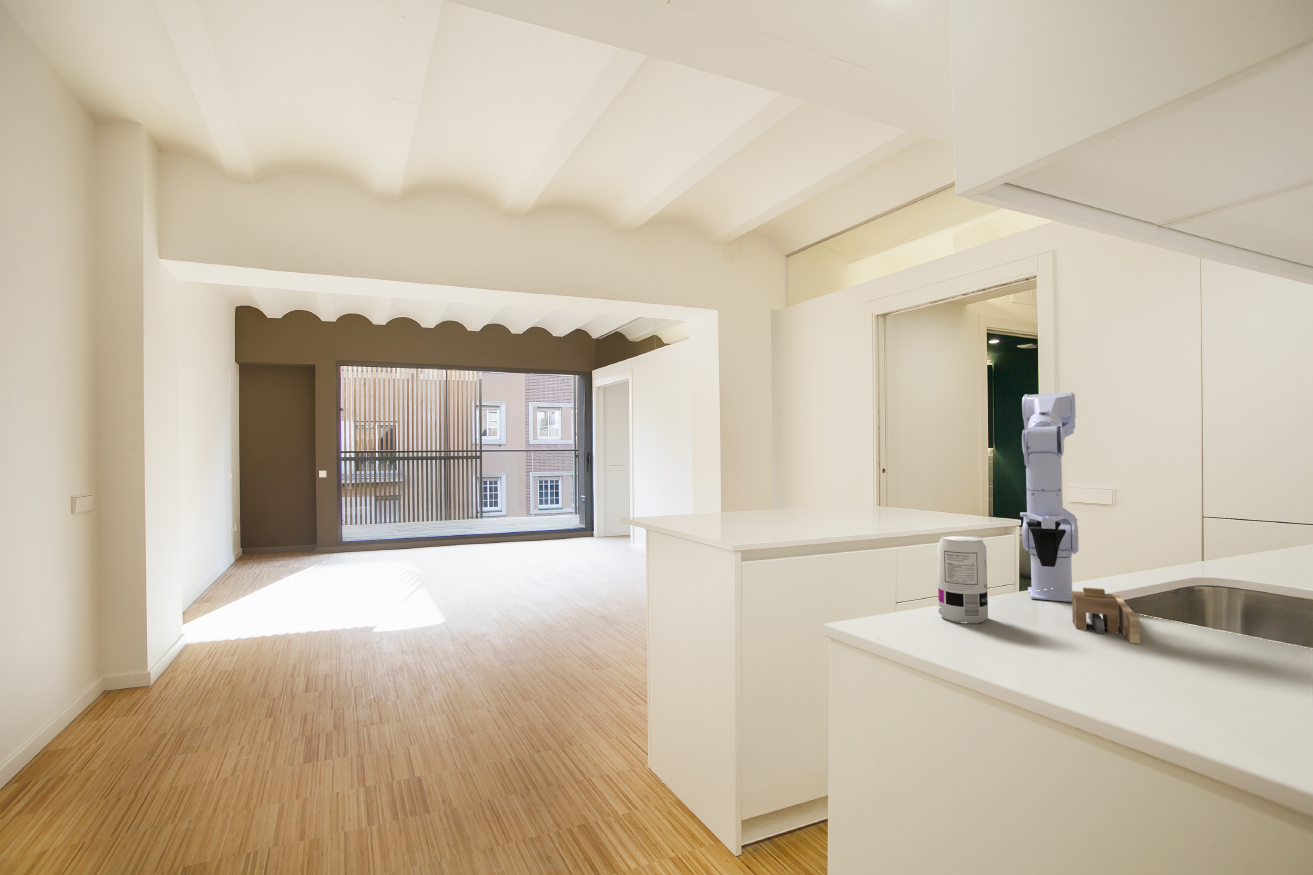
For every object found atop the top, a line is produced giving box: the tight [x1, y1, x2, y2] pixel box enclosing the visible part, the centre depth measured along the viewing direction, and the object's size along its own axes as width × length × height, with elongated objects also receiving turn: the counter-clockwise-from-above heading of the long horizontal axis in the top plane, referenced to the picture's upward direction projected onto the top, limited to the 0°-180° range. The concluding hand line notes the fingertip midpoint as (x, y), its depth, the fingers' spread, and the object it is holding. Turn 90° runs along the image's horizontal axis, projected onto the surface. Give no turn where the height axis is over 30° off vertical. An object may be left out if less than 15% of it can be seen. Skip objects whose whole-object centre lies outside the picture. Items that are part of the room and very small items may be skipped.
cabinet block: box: [1071, 586, 1119, 634], centre depth 110 cm, size 5×6×7 cm
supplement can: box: [936, 534, 989, 624], centre depth 117 cm, size 8×8×15 cm
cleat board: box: [1087, 592, 1141, 645], centre depth 110 cm, size 18×5×4 cm, turn 152°
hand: (1046, 562), depth 117 cm, fingers open, 7 cm apart
